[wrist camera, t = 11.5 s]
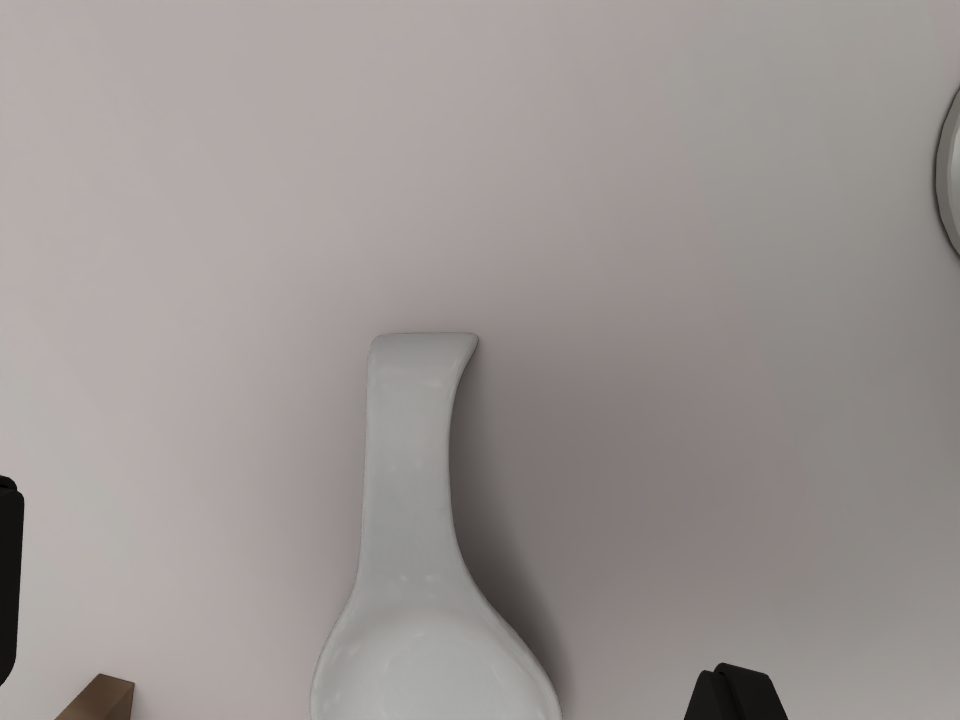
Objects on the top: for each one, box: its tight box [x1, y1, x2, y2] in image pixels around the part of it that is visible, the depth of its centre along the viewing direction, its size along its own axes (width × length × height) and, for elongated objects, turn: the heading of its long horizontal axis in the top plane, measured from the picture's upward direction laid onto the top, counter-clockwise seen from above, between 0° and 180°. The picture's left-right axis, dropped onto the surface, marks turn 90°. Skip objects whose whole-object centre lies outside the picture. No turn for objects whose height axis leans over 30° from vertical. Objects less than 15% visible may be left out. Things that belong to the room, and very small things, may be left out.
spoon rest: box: [310, 333, 563, 720], centre depth 30 cm, size 24×12×7 cm, turn 3°
